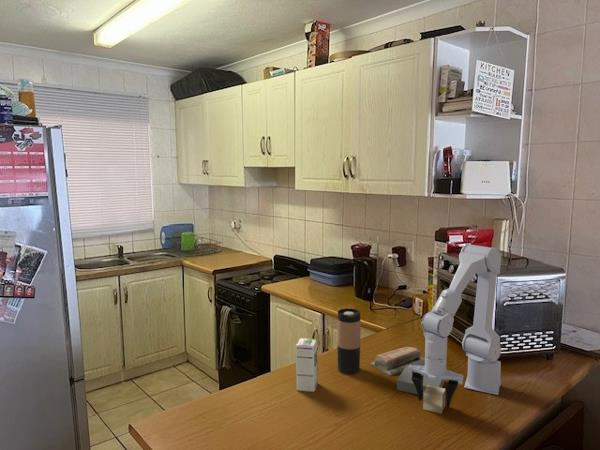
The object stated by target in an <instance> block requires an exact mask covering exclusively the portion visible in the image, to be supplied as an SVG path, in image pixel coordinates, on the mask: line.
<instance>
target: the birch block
mask: <svg viewBox="0 0 600 450" xmlns="http://www.w3.org/2000/svg"><path fill="white" fill-rule="evenodd" d="M446 391H447V388H443V387H442V388H440V387H435V386H431V385H427V387H426V389H425V391H424V396H423V398H422V400H423V401H422V403H423V404H422V405H423V406H422V410H425V411H428V412H433V413H436V414H441V415H442V414H443V411H444V409H445V407H446Z"/></svg>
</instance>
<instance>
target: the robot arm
mask: <svg viewBox="0 0 600 450" xmlns="http://www.w3.org/2000/svg"><path fill="white" fill-rule="evenodd" d="M458 262H459V265H458V267H457V270H456V271H455V274H454V275H453V276H454V277H453V278H452V281H451V282H450V284H449V288H447V289H444V290H443V289H442V292H441V293H440V294H439V297H438V299H437V300H436V302H435V304H434V306H433V307H432V309H431V311H428V312H427V313H425V314H424V315H423V316H422V319H421V322H420V328H421V329H422V332H423V337H424V339H425V341H424V344H425V346H424V358H425V364H424V365H409V367H408V373H409V374H412V377H411V378H412V381H413V383H414V385H415V387H416V390H417V393H418V394H417V397H418V401H420V402H421V401H422V400H423V397H424V396H423V377H424V376H428V377H429V378H430V379H434V380H436V379H443V380H445V381H448V382H447V384H446V401H445V407H446V408H450V407H451V401H452V396H453V395H454V393H455V391H456V390H457V388H458V385H463V384H464V385H463V386H464V387H463V388H464V389H468V390H472V391H478V392H481V393H487V394H492V395H497V396H498V395H500V394H499V392H500V387H502V386H501V385H502V380H501V370H502V369H501V368H502V367H501V365H502V362H501V361H500V360H498V359H499V358H500V356H501V353H502V347H501V342H500V340H501V337H500V335H499V334H498V333H497V332H496V331H495V330H494V329H493V327H492V326H493V319H494V307H495V300H496V299H495V298H496V286H497V278H498V275H500V274H501V266H502V264H501V263H502V253H501V252H500V250H499V249H498V248H497V247H494V246H493V247H489V246H482V245H476V244H470V243H465V244H464V245H463V246H462V248H461V250H460V252H459V254H458ZM475 274H476V275H477V283H476V293H475V303H474V316H473V323H472V324H473V325H472V326H470V327H468V328H467V329H465V330H464V331H465V332H464V336H463V339H462V342H461V346H462V350H463V351H464V352H465V356H466V357H467V376H466V378H465V383H464V375H463V374H461V373H457V372H455V371H451V370H448V369H447V360H448V359H447V358H448V357H447V355H448V354H447V353H448V352H447V351H448V336H449V335H450V334H451V332H452V330H453V326H454V322H455V318H454V316H455V315H456V313H457V311H458V309H459V308H460V305H461V304H462V302H463V300H462V296H461V294H462V293H463V292H464V291H465V288H466V287H467V285H468V284H469V283H470V281H471V280H472V278H473V277H474V276H475Z"/></svg>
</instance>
